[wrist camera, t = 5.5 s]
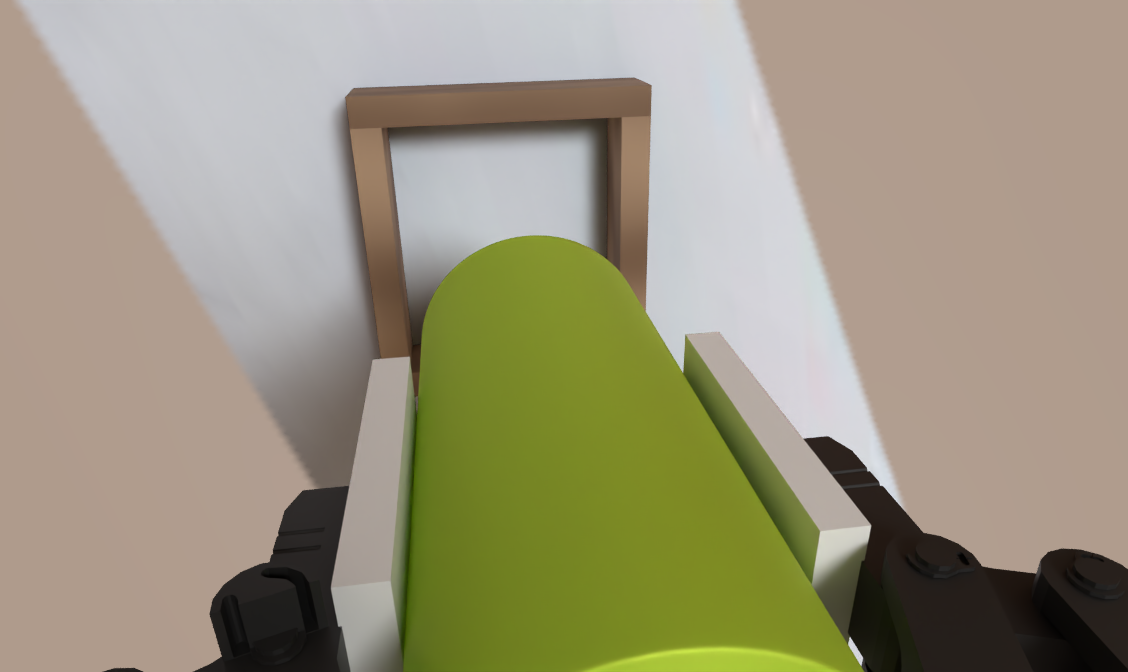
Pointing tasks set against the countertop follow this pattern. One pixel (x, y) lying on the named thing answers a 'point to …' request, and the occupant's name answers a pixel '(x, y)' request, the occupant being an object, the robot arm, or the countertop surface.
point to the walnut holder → (494, 104)
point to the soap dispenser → (584, 492)
